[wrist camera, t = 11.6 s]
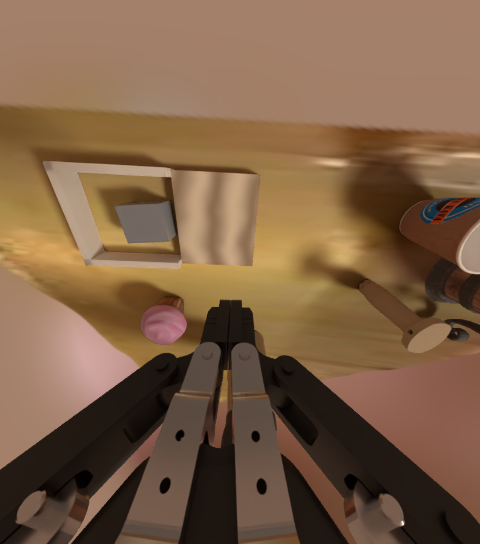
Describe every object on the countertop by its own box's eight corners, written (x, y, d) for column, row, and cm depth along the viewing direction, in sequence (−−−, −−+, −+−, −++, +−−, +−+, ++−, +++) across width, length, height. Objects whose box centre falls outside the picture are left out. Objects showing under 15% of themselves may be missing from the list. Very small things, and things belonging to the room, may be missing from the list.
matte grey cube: (170, 200, 31) (159, 203, 26) (178, 233, 33) (168, 241, 29) (132, 202, 31) (114, 205, 26) (142, 234, 34) (128, 243, 29)
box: (174, 168, 28) (165, 167, 25) (184, 260, 36) (179, 268, 32) (66, 162, 28) (41, 160, 24) (101, 256, 36) (85, 265, 32)
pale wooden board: (259, 174, 29) (260, 174, 27) (251, 261, 36) (252, 266, 35) (174, 170, 28) (170, 169, 27) (184, 259, 36) (181, 263, 34)
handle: (347, 294, 40) (400, 350, 27) (363, 270, 37) (430, 320, 24) (366, 298, 41) (426, 354, 28) (382, 275, 38) (459, 326, 25)
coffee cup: (450, 176, 29) (571, 175, 18) (450, 229, 33) (548, 252, 23) (385, 208, 31) (459, 224, 21) (392, 254, 36) (457, 285, 25)
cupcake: (190, 288, 39) (176, 320, 31) (195, 317, 44) (184, 352, 35) (151, 289, 40) (126, 321, 31) (160, 317, 44) (140, 352, 35)
